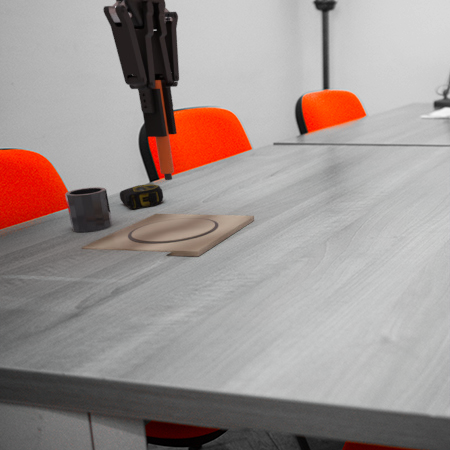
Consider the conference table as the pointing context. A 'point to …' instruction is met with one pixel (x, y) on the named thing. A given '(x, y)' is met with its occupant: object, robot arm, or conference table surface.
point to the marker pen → (164, 145)
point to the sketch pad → (173, 234)
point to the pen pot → (88, 209)
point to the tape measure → (142, 196)
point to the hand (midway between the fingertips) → (161, 134)
